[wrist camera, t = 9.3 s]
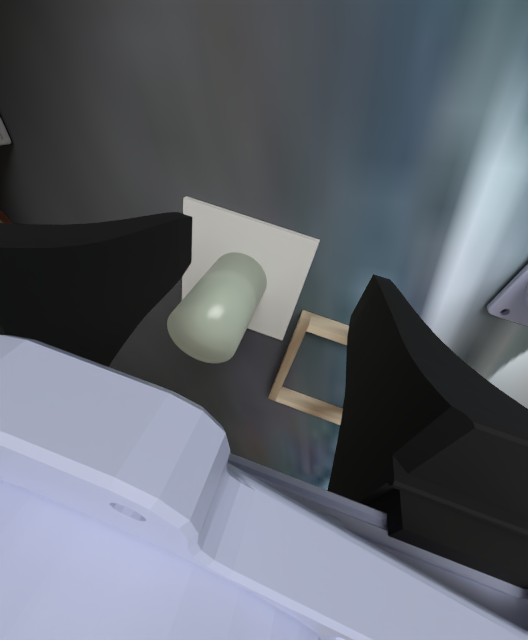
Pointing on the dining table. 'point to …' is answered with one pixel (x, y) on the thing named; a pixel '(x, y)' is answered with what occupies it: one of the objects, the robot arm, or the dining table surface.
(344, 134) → the dining table surface
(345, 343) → the holder
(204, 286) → the pale green capsule
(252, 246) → the mat
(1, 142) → the coffee box
